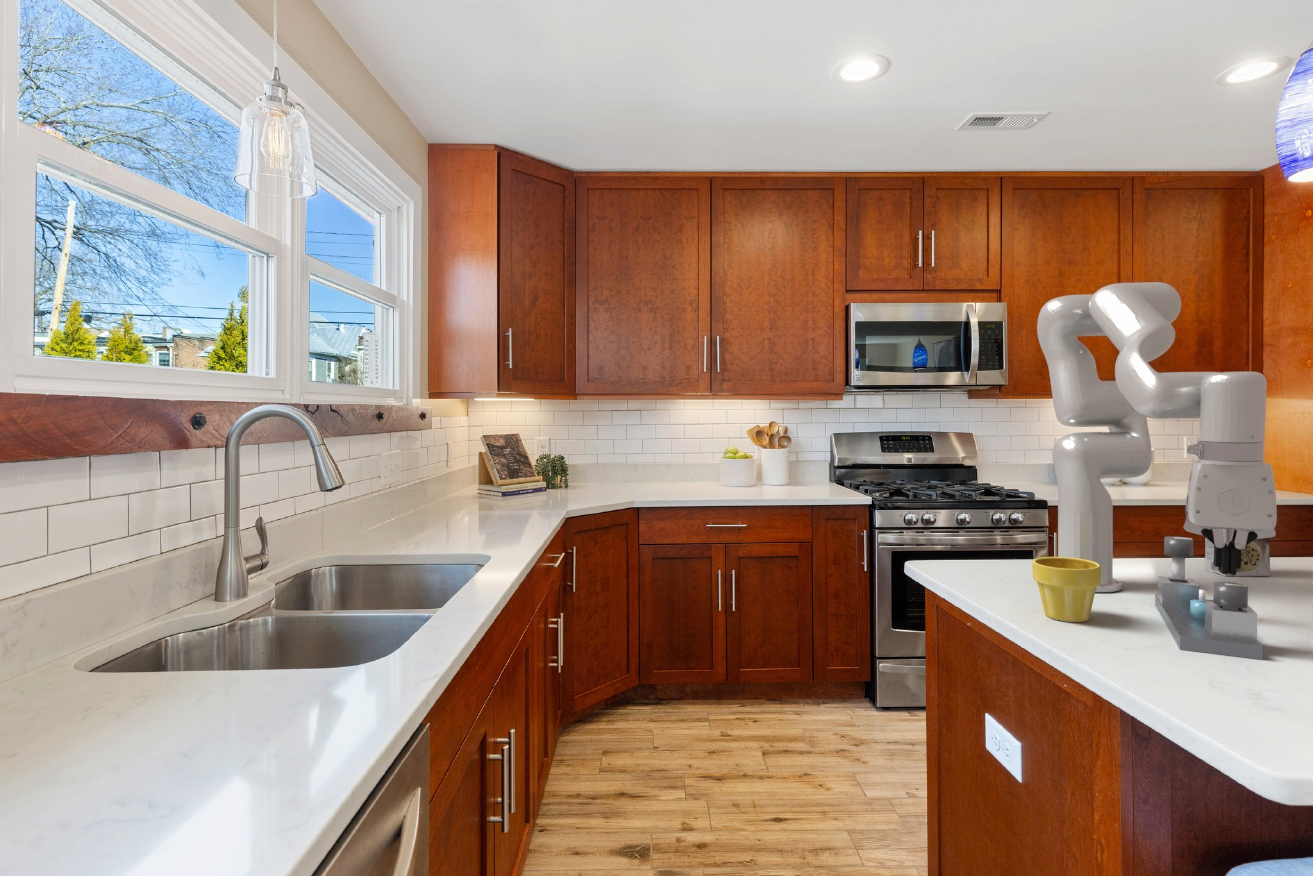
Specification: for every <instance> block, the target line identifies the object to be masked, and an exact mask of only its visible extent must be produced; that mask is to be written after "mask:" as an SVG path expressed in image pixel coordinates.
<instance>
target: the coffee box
mask: <svg viewBox="0 0 1313 876" xmlns="http://www.w3.org/2000/svg"><path fill="white" fill-rule="evenodd" d="M1208 529H1209V528H1208ZM1232 533H1233V530H1231V529H1223V535H1224V541H1225V543H1226V544H1227V546H1228V545H1229V542H1230V541H1231V537H1232ZM1204 538H1205V539H1204V540H1205V541H1204V543H1205V552H1204V553H1205V555H1204V557H1205V558H1204V559H1205V564H1204V565H1205V569H1208V570H1211V571H1213V572H1217V573H1219V574H1222V573H1221V572H1220V571H1219V570H1218V567H1215V566H1214V544H1213V543H1212V542H1210V541H1209V540H1208V539H1207V538H1206V537H1205V536H1204ZM1270 540H1271V537H1270V538H1261V539H1255V540H1254V541H1252V542H1251V543H1249V544H1248V545H1246V546H1245V548H1244V549H1242V551H1241V569H1236V575H1231V574H1229V573H1228V574H1223V575H1225V576H1224V577H1270V576H1271V559H1270V558H1271V541H1270ZM1213 572H1212V573H1213ZM1219 574H1218V575H1219Z"/></svg>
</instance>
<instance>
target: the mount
mask: <svg viewBox="0 0 1313 876" xmlns="http://www.w3.org/2000/svg"><path fill="white" fill-rule="evenodd" d="M1200 589H1201V584H1199V583H1198V581H1197V580H1196V579H1195V578H1186V577H1185V579H1175V578H1172V576H1160V575H1158V576H1157V594H1154V599H1155V600H1154V602H1155V603H1154V606H1155V605H1156V606H1155V607H1157V608H1156V609H1157V611H1158V613H1159V612H1160V613H1159V615H1160V614H1161V615H1160V617H1161V619H1162V620H1163V622H1164V624H1165V623H1166V624H1165V625H1166V628H1167V629H1168V631H1169V632H1170V634H1171V636H1172V638H1173V640H1174V642H1175V643H1176V645H1177V647H1178V648H1179V650H1180V651H1187V652H1188V651H1190V652H1198V653H1205V654H1213V655H1220V656H1229V657H1237V658H1246V659H1251V660H1252V659H1253V660H1260V661H1263V651H1264V650H1263V648H1264V647H1263V645H1262V644H1261V643H1260V642H1259V641H1258V613H1257V612H1256V611H1255V610H1254V609H1253V608H1252V607H1250V605H1249V604H1248V607H1247V608H1238V610H1231V609H1223V606H1219V605H1216V604H1214V603H1213V599H1207V598H1205V620H1203V619H1197V618H1193V617H1191V616H1190V600H1199V590H1200Z"/></svg>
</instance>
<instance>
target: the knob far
mask: <svg viewBox="0 0 1313 876" xmlns="http://www.w3.org/2000/svg"><path fill="white" fill-rule="evenodd" d="M1163 539H1164V540H1163V542H1164V544H1163V545H1164V548H1163V549H1164V550H1163V551H1164V552H1163V553H1164V556H1167V557H1171V577H1172V578H1175V579H1185V578H1186V559H1190V558H1193V557H1194V539H1193V538H1192V537H1185V536H1171V535H1170V536H1164V538H1163Z"/></svg>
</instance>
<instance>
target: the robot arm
mask: <svg viewBox="0 0 1313 876" xmlns="http://www.w3.org/2000/svg"><path fill="white" fill-rule="evenodd" d="M1181 309H1182V301H1181V297H1180V294H1179V292H1178V291H1177V290H1176V289H1175V287H1173V286H1172V285H1170V284H1169V283H1164V282H1160V281H1158V282H1157V281H1152V282H1149V281H1148V282H1118V283H1113V284H1112V283H1111V284H1108V285H1106V286H1105V285H1104V286H1103V287H1101V288H1099V289H1098V290H1096V291H1095V292H1094V293H1093V294H1089V293H1088V294H1070V295H1069V294H1068V295H1061V296H1058V297H1055V298H1052V299H1050V300H1048V301H1047V302H1046V303H1045V304H1044V305H1043V306H1042V307H1041V309H1040V311H1039V313H1038V318H1037V325H1036V327H1037V328H1036V331H1037V339H1038V342H1039V346H1040V349H1041V350H1042V353H1043V355H1044V359H1045V361H1046V364H1047V367H1048V372H1049V379H1050V387H1051V395H1052V400H1053V401H1052V402H1053V409H1054V413H1055V416H1056V419H1057V420H1058V422H1059V423H1060V424H1061V425H1063V426H1065V427H1066V426H1067V427H1073V428H1091V427H1092V428H1094V427H1095V428H1096V427H1101V428H1102V427H1103V428H1104V427H1105V428H1108V430H1109V432H1108V431H1089V432H1087V431H1086V432H1085V431H1084V432H1073V433H1068V434H1066V435H1063V436H1061V437H1060V438H1058V439H1057V440H1056V442H1055V443H1054V444H1053V448H1052V454H1051V455H1052V461H1053V466H1054V472H1055V478H1056V486H1057V557H1069V558H1078V559H1085V560H1089V561H1093V562H1096V563H1098V564H1099V565H1100V566H1101V583H1100V585H1099V586H1097V587H1096V591H1095V593H1113V592H1118V591H1121V590H1122V588H1123V583H1122V582H1121V581H1120V580H1119V579H1116V578H1113V575H1114V574H1113V570H1114V569H1113V565H1114V564H1113V563H1114V561H1113V559H1114V558H1113V557H1114V556H1113V552H1114V551H1113V549H1114V548H1113V542H1114V541H1113V538H1114V537H1113V536H1114V535H1113V534H1114V531H1113V530H1114V529H1113V528H1114V526H1113V521H1114V520H1113V515H1114V514H1113V513H1114V511H1113V509H1114V507H1113V506H1114V505H1113V499H1112V497H1111V494H1110V493H1109V491H1108V489H1107V488H1106V487H1105V485H1104V484H1103V482H1102V481H1101V480H1105V479H1130V478H1132V479H1133V478H1138V477H1141V476H1143V475H1144V474H1146V473H1147V472H1148V471H1149V469H1150V467H1151V465H1152V459H1153V450H1152V443H1151V436H1150V432H1149V431H1150V430H1149V425H1148V419H1155V420H1156V419H1157V420H1166V419H1167V420H1169V419H1199V437H1198V438H1199V440H1198V441H1197V442H1196V444H1193V445H1191V444H1190V445H1189V444H1187V446H1186V448H1187V449H1186V450H1187V451H1186V452H1187V454H1188V455H1189V454H1191V455H1195V456H1197V458H1198V460H1194V461H1193V463H1192V466H1191V470H1190V473H1189V479H1188V486H1187V492H1186V500H1185V501H1186V502H1185V516H1186V518H1185V521H1184V524H1183V529H1184V530H1185V531H1186V532H1188V533H1192V534H1195V535H1198V536H1200V535H1201V536H1203V537H1204V538H1205V537H1206V538H1207V539H1208V540H1209V541H1210V542H1212V543H1213V544H1214V566H1215V567H1218V570H1219V571H1220V572H1221V573H1222V574H1228V573H1229V574H1231V575H1236V569H1241V551H1242V549H1244V548H1245V546H1246V545H1248V544H1249V543H1251V542H1252V541H1254V540H1255V539H1261V538H1270V539H1271V538H1274V537H1276V534H1277V533H1276V529H1275V528H1276V526H1277V520H1278V516H1277V515H1278V514H1277V493H1276V484H1275V476H1274V471H1273V467H1272V464H1271V463H1267V462H1265V437H1266V416H1267V415H1266V411H1267V410H1266V409H1267V387H1268V386H1267V385H1268V383H1267V379H1266V377H1265V375H1264V374H1263V373H1261V372H1257V371H1223V372H1220V371H1182V372H1181V371H1177V372H1174V371H1172V372H1169V371H1168V372H1158V371H1156V370H1155V369H1154V368H1153V367H1152V366H1151V364H1150V363H1149V362H1152V361H1154V360H1155V359H1157V358H1159V357H1161V356H1162V355H1164V354H1165V353H1166V352H1167V351H1168V350H1169V349H1170V348H1171V347H1172V345H1173V344H1174V342H1175V338H1176V330H1175V328H1174V327H1173V325H1172V323H1173V322H1174V321H1175V320H1176V319H1177V318H1178V316H1179V315H1180V312H1181ZM1095 336H1096V337H1101V336H1103V337H1105V336H1106V337H1107V338H1108V339H1109V340H1110V342H1111V343H1112V344H1113V346H1114V347H1115V348H1116V349H1117V350H1118V352H1119V353H1118V355H1117V358H1116V361H1115V365H1114V375H1115V376H1114V377H1115V380H1101V379H1100V378H1099V376H1098V375H1099V374H1098V370H1097V365H1096V364H1097V363H1096V360H1095V357H1094V355H1093V354H1092V353H1091V351H1090V350H1089V349H1088V347H1087V346H1086V345H1085V344H1083V343H1082V342H1081V341H1080V340H1078V337H1095ZM1208 528H1209V529H1208ZM1223 529H1231V530H1233V533H1232V537H1231V541H1230V542H1229V545H1228V546H1227V544H1226V543H1225V541H1224V535H1223Z"/></svg>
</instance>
